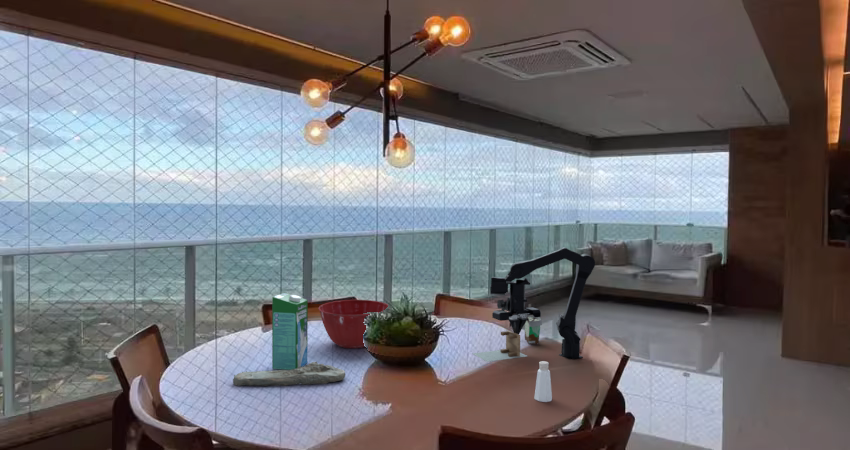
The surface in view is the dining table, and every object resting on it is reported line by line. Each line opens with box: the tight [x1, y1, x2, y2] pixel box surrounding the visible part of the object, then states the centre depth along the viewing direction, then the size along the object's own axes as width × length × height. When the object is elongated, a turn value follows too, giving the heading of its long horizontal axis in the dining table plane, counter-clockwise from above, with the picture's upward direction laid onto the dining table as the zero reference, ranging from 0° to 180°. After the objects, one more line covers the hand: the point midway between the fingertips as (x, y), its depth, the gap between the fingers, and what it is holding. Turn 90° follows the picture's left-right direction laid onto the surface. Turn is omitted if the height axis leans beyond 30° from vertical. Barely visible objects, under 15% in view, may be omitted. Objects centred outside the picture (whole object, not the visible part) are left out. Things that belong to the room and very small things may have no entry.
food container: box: [524, 315, 543, 345], centre depth 222 cm, size 12×6×10 cm, turn 179°
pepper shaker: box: [533, 360, 553, 403], centre depth 158 cm, size 5×5×11 cm
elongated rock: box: [232, 361, 346, 387], centre depth 171 cm, size 35×5×10 cm
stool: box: [500, 330, 521, 357], centre depth 203 cm, size 8×4×8 cm, turn 25°
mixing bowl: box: [318, 299, 389, 349], centre depth 216 cm, size 28×28×15 cm
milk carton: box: [271, 292, 309, 370], centre depth 186 cm, size 9×9×25 cm
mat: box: [472, 349, 528, 363], centre depth 202 cm, size 11×18×1 cm, turn 115°
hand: (516, 336), depth 204 cm, fingers closed
